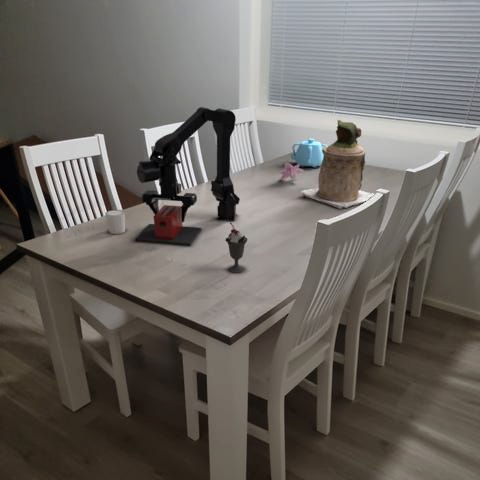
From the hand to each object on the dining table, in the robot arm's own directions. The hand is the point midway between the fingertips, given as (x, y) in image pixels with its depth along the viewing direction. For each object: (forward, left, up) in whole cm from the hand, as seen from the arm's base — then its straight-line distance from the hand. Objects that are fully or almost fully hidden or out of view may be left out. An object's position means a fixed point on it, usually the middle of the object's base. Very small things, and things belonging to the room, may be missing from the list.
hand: (171, 221), depth 173 cm
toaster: (0, +3, -3) cm, 4 cm away
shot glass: (+20, +3, -4) cm, 21 cm away
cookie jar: (-60, -54, -4) cm, 81 cm away
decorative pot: (-44, -108, -4) cm, 117 cm away
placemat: (0, +4, -4) cm, 5 cm away
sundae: (-29, +26, -4) cm, 39 cm away
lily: (-37, -74, -4) cm, 83 cm away
